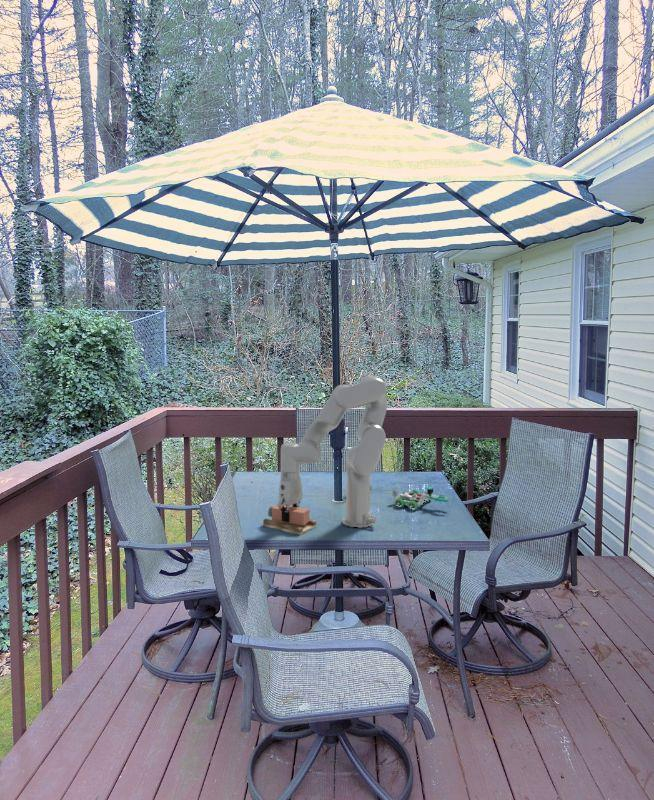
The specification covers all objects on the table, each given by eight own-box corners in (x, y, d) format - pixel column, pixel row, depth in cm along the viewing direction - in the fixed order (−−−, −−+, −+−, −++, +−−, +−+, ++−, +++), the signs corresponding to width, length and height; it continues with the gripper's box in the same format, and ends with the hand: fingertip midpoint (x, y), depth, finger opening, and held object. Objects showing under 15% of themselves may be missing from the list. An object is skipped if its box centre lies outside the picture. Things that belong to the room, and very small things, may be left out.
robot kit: (441, 517, 251) (442, 495, 250) (388, 506, 265) (388, 486, 263) (457, 506, 267) (458, 485, 266) (406, 496, 280) (406, 476, 279)
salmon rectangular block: (309, 521, 236) (309, 509, 235) (303, 525, 232) (303, 513, 231) (273, 515, 243) (273, 503, 242) (267, 519, 238) (267, 507, 237)
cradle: (316, 527, 237) (316, 520, 236) (300, 535, 228) (300, 528, 227) (280, 518, 246) (280, 512, 246) (263, 525, 237) (263, 519, 237)
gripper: (284, 481, 225) (284, 527, 227) (310, 471, 239) (310, 515, 242) (269, 478, 229) (269, 523, 232) (295, 468, 243) (295, 511, 246)
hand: (290, 518), depth 237 cm, fingers closed on salmon rectangular block, 5 cm apart
